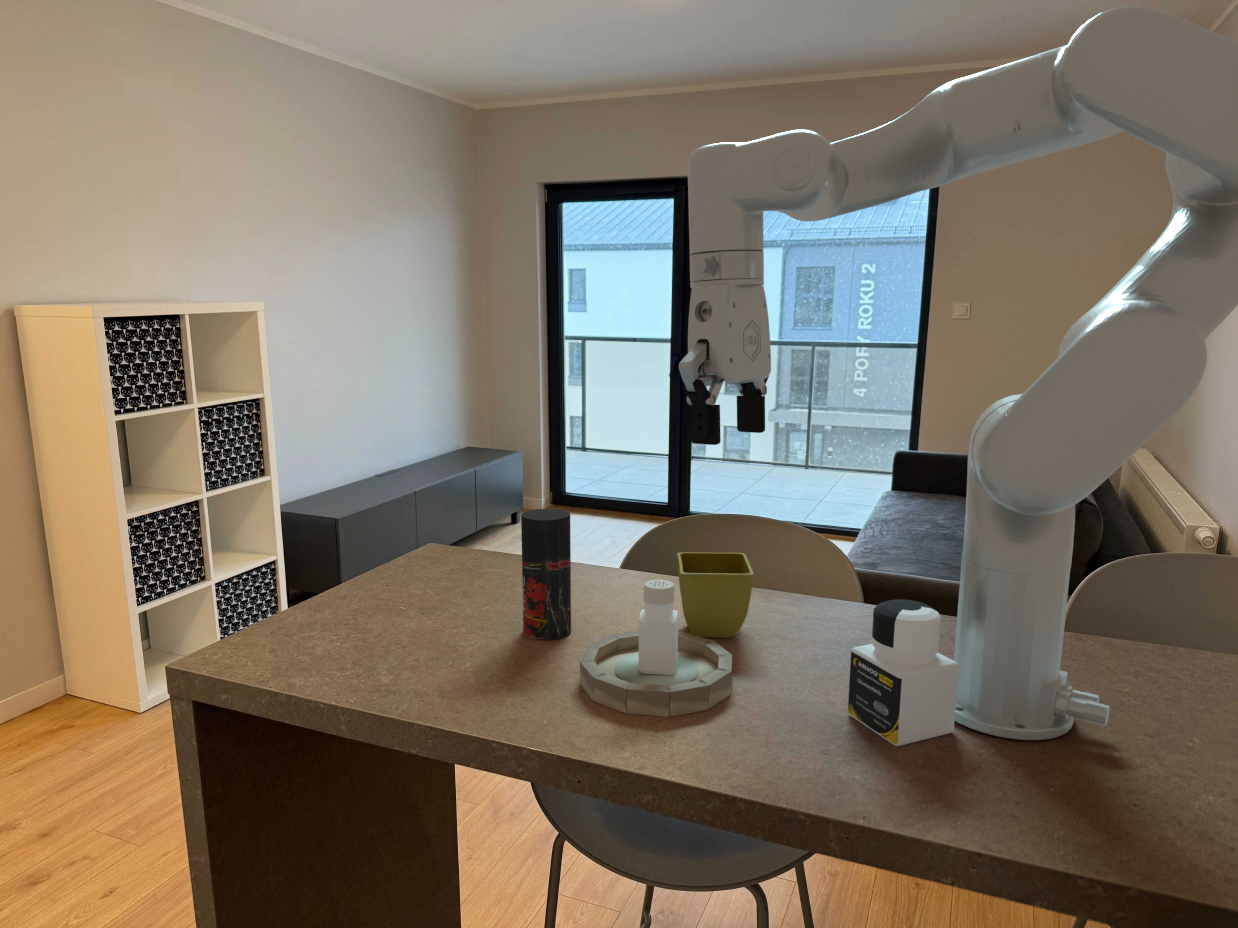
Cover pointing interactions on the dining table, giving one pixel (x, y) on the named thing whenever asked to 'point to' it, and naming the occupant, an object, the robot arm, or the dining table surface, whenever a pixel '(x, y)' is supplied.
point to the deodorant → (546, 574)
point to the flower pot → (714, 592)
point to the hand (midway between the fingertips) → (729, 437)
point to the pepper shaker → (658, 629)
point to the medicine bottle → (903, 676)
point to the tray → (656, 676)
